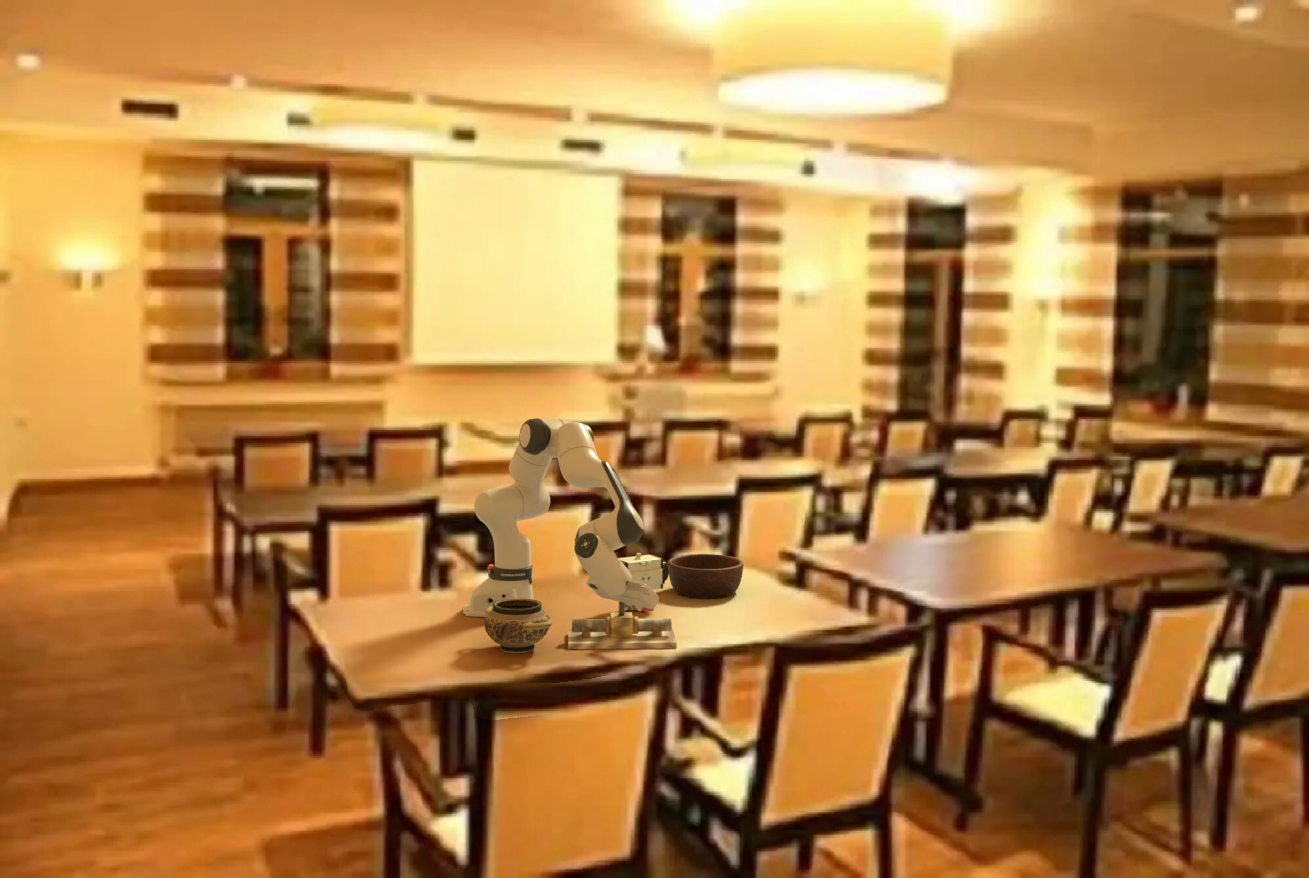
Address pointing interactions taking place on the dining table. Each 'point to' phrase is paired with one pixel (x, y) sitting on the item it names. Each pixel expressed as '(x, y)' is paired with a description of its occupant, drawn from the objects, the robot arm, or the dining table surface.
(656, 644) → the pipe board
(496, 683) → the dining table surface
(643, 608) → the valve lever
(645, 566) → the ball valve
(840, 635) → the dining table surface
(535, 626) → the ceramic bowl
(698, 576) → the wooden bowl
